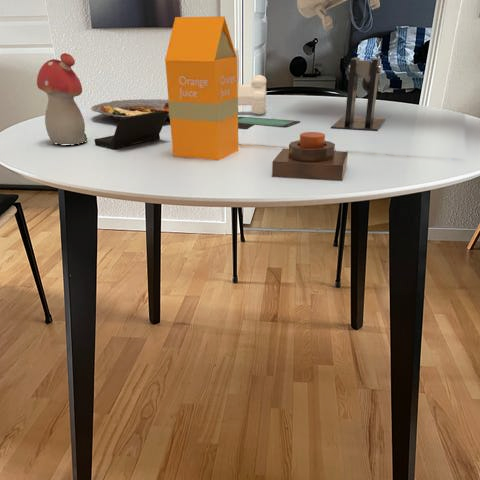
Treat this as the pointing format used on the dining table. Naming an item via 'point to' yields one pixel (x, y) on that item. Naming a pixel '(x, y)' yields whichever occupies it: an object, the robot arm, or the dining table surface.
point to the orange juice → (202, 88)
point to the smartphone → (264, 122)
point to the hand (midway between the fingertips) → (350, 17)
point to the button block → (310, 162)
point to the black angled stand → (135, 130)
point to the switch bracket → (349, 120)
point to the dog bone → (254, 94)
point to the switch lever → (365, 73)
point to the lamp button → (312, 139)
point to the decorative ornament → (62, 101)
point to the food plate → (131, 107)
